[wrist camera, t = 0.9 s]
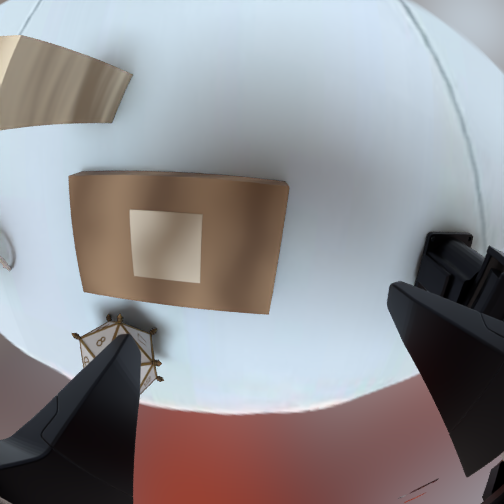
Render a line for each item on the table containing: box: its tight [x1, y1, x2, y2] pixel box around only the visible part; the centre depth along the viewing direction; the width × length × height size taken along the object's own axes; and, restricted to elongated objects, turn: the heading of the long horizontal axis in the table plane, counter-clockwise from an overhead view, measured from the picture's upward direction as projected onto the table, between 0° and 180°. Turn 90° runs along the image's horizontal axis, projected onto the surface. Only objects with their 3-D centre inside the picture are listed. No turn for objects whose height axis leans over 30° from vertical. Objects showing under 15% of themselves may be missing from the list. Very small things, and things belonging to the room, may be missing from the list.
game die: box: [71, 314, 164, 394], centre depth 21 cm, size 9×8×10 cm
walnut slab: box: [69, 171, 289, 314], centre depth 19 cm, size 16×10×2 cm, turn 84°
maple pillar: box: [0, 35, 133, 130], centre depth 10 cm, size 4×4×12 cm
